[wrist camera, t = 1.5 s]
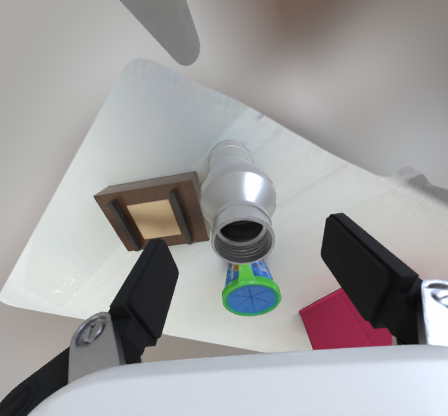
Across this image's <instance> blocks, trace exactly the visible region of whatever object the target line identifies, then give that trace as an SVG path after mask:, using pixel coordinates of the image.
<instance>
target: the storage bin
mask: <svg viewBox="0 0 448 416" xmlns="http://www.w3.org/2000/svg"><path fill="white" fill-rule="evenodd" d="M299 313H300V315H301V317H302V320H303V323H304V325H305V328H306V331H307V334H308V337H309V339H310V342H311V345H312V348H313V350H324V349H340V348H356V347H373V346H392V334H391V333H390V332H389V331H388V329H387V328H381V329H373V327H372V326H371V325H370V323H369V322H368V321H365V320H364V319H363V318H362V317H361V315H360V314H359V312H358V311H357V309H356V308H355V306H354V305H353V303H352V302H351V300H350V299H349V297H348V296H347V295H346V293H345V292H344V290H343V289H342V288H341V289H339V290H337V291H335V292H334V293H332V294H330V295H328V296H326V297H324V298H322V299H320V300H318V301H317V302H315V303H313V304H311V305H309V306H308V307H306V308H304V309H302V310H300V311H299Z"/></svg>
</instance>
